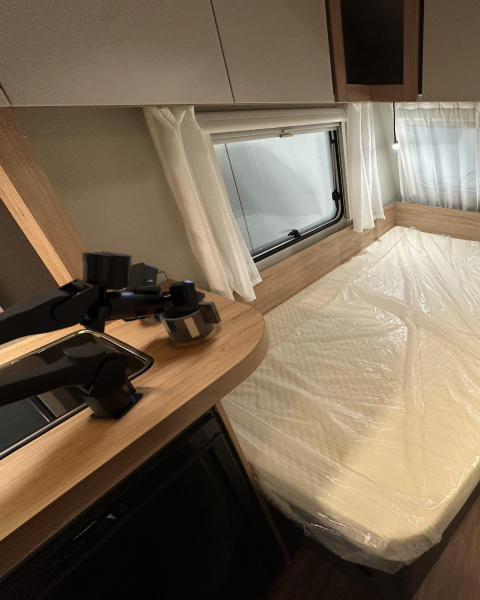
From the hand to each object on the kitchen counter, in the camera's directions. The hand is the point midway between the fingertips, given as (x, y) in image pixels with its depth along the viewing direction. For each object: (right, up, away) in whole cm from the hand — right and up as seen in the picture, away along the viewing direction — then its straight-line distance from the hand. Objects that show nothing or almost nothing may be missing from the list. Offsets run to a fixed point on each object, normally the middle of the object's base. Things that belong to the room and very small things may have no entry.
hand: (188, 298), depth 79 cm
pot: (-4, -9, +8) cm, 12 cm away
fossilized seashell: (-19, -5, +18) cm, 27 cm away
